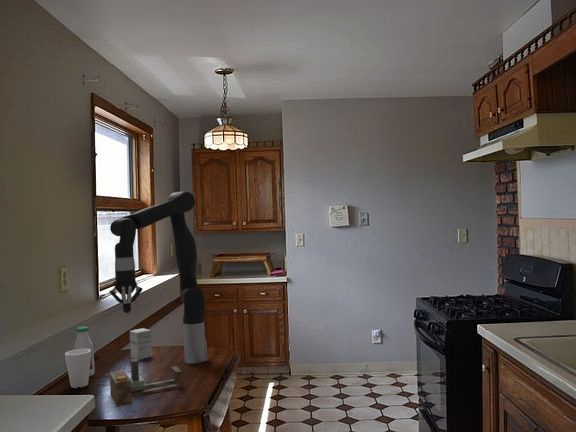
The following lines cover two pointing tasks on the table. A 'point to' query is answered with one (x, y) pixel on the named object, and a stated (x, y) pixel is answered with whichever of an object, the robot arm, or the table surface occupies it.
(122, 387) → the brown mechanism housing
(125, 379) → the button
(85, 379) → the foam cup
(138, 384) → the sliding handle
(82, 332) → the milk bottle
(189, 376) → the table surface
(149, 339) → the supplement box
